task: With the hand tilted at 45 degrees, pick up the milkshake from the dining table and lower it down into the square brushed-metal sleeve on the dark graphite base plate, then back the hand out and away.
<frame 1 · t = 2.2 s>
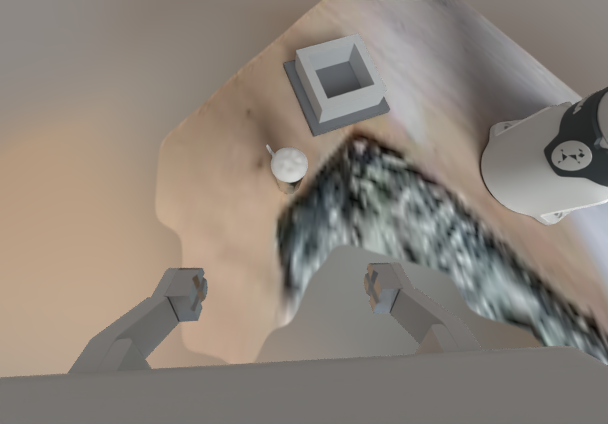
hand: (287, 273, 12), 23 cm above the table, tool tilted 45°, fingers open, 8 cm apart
milkshake: (286, 183, 37), on the table
sleeve housing: (335, 89, 41), on the table
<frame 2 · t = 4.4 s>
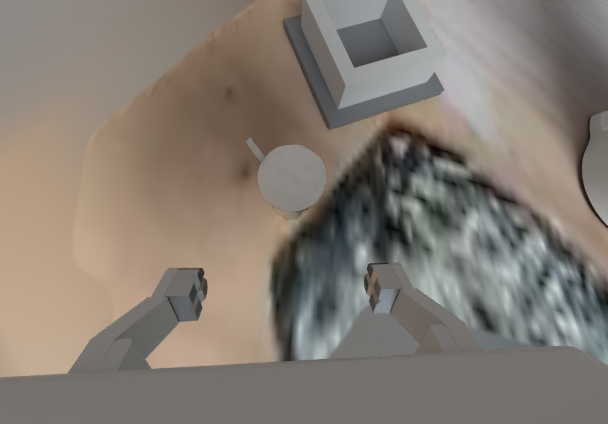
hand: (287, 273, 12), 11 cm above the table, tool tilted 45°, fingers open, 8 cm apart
milkshake: (287, 203, 24), on the table
sleeve housing: (361, 60, 27), on the table
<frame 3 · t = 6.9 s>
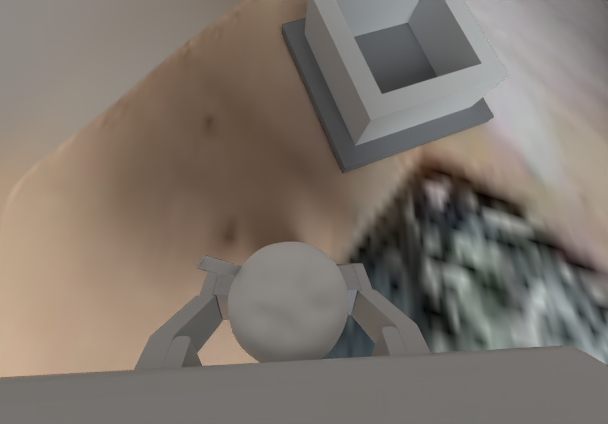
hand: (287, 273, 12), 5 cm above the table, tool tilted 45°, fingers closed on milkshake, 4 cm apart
milkshake: (287, 278, 17), on the table, touching gripper
sleeve housing: (383, 77, 21), on the table
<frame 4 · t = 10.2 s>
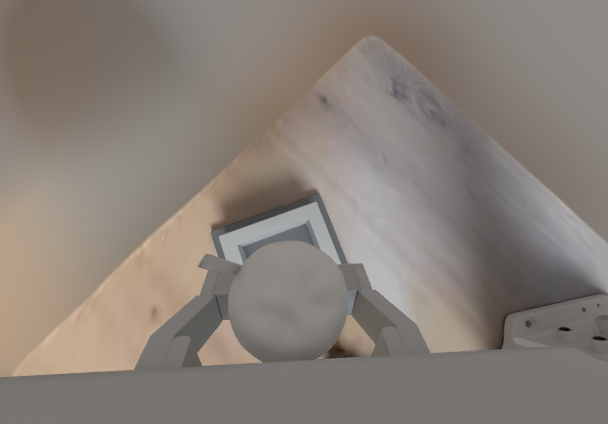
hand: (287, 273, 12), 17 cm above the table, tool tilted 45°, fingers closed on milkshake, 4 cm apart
milkshake: (284, 277, 17), point 12 cm above the table, touching gripper
sleeve housing: (286, 266, 28), on the table
when the fingers open (8 cm above the table, at t = 13.3 s): milkshake drops 2 cm, resting on sleeve housing.
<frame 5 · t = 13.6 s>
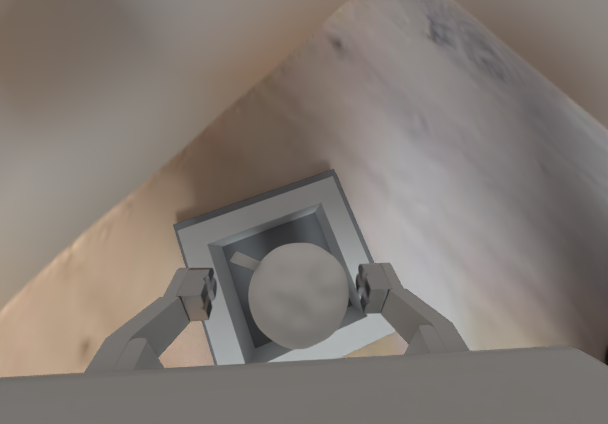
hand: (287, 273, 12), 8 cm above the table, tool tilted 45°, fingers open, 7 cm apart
milkshake: (289, 275, 19), point 1 cm above the table, touching sleeve housing
sleeve housing: (286, 275, 19), on the table
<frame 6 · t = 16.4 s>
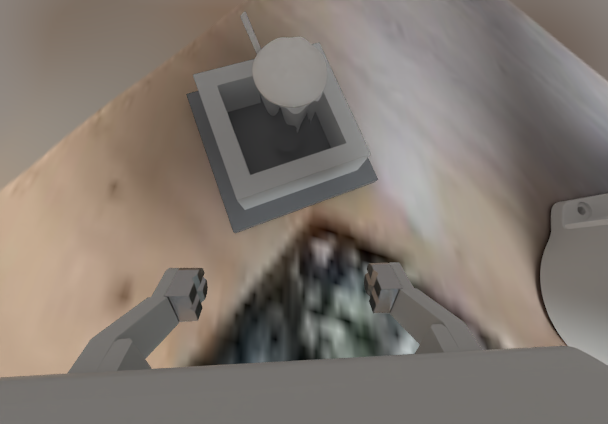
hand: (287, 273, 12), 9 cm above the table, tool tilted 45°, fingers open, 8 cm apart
milkshake: (284, 137, 22), point 1 cm above the table, touching sleeve housing
sleeve housing: (282, 140, 23), on the table
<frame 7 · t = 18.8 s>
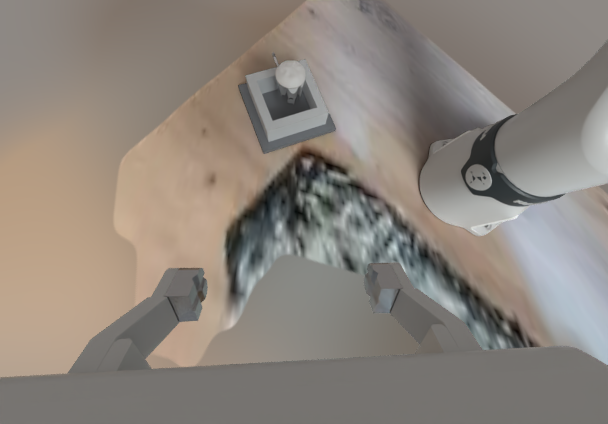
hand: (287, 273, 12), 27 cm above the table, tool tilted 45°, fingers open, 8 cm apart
milkshake: (288, 107, 43), point 1 cm above the table, touching sleeve housing
sleeve housing: (286, 109, 44), on the table
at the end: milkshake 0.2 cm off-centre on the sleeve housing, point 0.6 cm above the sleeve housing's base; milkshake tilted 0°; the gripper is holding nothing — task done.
